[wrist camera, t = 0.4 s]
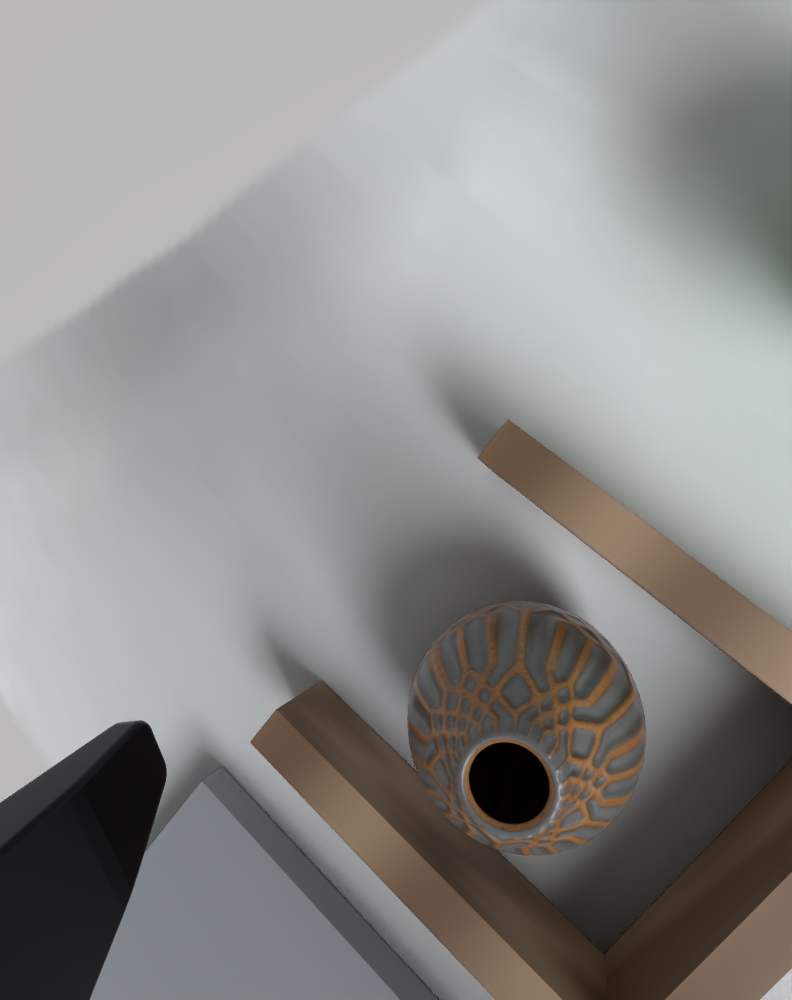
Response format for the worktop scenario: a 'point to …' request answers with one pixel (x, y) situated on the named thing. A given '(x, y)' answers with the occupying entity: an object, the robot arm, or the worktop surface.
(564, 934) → the holder
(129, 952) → the board
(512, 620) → the vase
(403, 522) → the worktop surface
